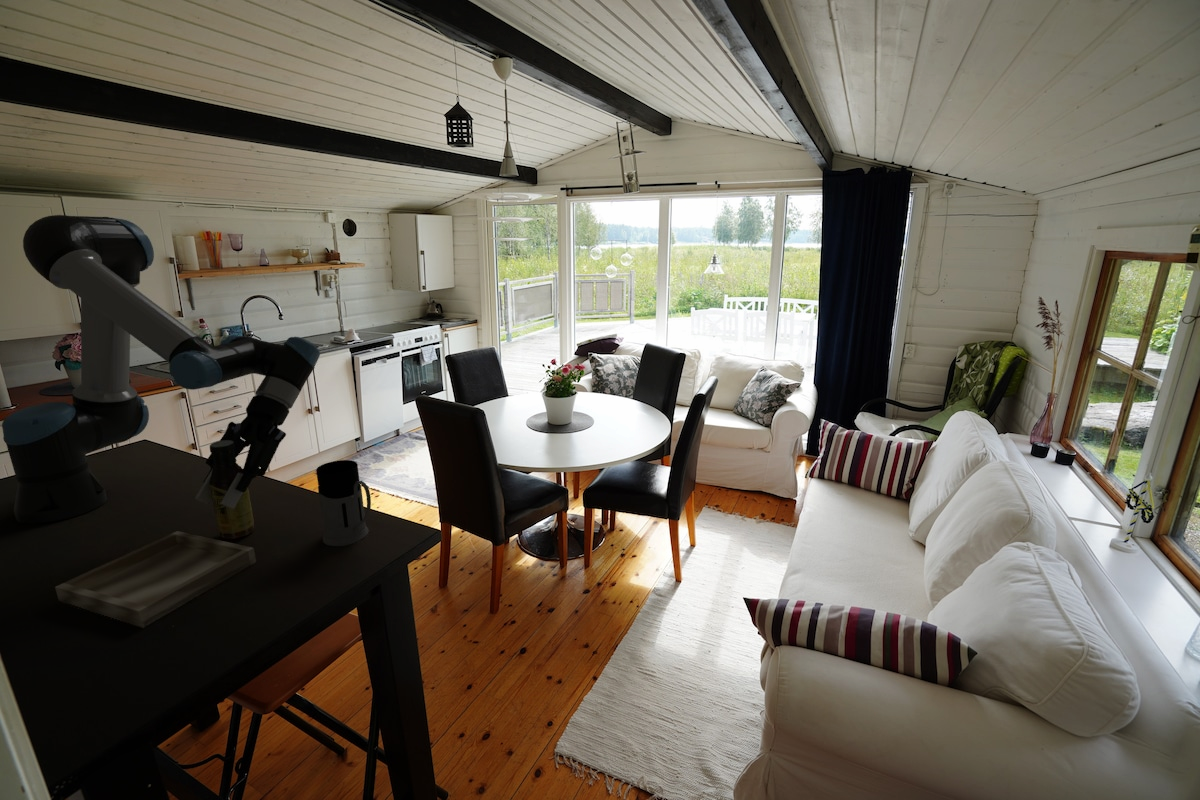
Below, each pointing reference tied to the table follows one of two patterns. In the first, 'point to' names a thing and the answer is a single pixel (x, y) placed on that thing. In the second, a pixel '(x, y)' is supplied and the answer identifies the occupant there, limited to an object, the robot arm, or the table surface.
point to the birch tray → (156, 577)
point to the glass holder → (342, 503)
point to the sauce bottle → (222, 476)
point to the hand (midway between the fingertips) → (214, 503)
